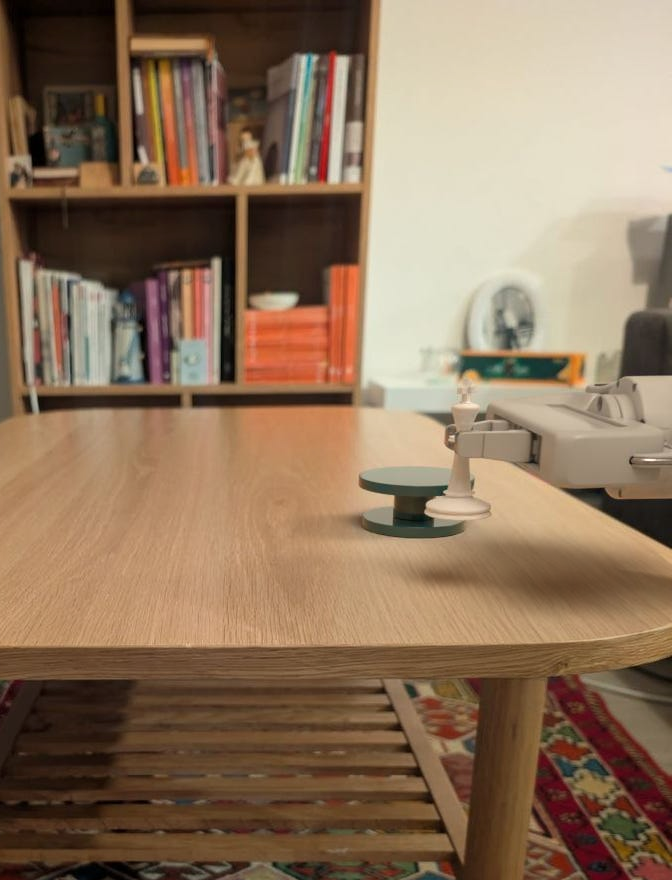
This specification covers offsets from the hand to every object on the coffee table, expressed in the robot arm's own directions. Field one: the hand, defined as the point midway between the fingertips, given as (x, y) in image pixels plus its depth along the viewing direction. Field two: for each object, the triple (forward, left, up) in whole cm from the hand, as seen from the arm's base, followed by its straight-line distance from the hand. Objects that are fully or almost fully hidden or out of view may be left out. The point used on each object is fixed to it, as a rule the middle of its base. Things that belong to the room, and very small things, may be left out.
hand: (450, 440), depth 70 cm
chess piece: (-1, 0, -6) cm, 6 cm away
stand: (+1, -21, -11) cm, 24 cm away
